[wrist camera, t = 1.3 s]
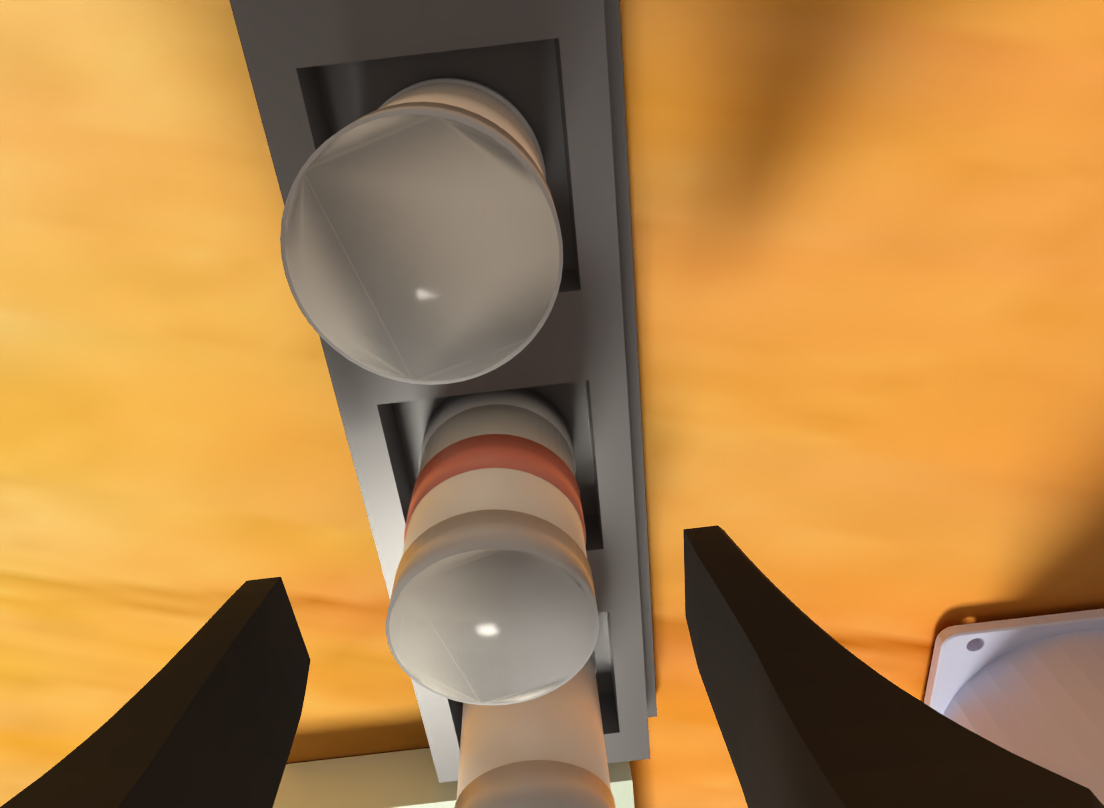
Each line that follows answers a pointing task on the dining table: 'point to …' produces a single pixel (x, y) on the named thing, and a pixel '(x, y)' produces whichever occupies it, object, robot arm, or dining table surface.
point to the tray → (392, 783)
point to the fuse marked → (494, 555)
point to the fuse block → (576, 317)
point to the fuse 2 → (537, 751)
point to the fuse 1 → (426, 235)
